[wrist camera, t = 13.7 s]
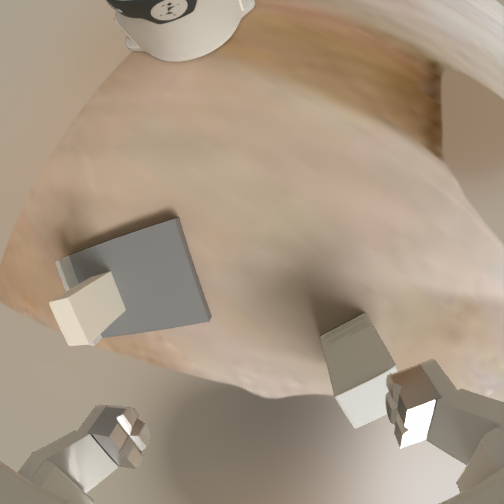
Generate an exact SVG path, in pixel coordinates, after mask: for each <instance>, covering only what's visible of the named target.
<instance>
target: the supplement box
mask: <svg viewBox="0 0 504 504" xmlns="http://www.w3.org/2000/svg"><path fill="white" fill-rule="evenodd" d="M320 340H321V344H322V348H323V351H324V355H325V360H326V363H327V367H328V371H329V375H330V379H331V384H332V388H333V392H334V397H335V399H336V401H337V402H338V404H339V405H340V407H341V408H342V410H343V412H344V413H345V415H346V417H347V418H348V419H349V421H350V423H351V424H352V426H353V427H354V428H358V427H360V426H362V425H364V424H367V423H369V422H371V421H373V420H376V419H378V418H380V417H382V416H384V415H386V414H387V411H386V403H385V400H386V394H387V393H388V391H389V390H388V388H387V386H386V378H387V375H389V374H393V373H396V372H398V369H397V366H396V364H395V362H394V360H393V359H392V357H391V355H390V353H389V352H388V350H387V348H386V346H385V345H384V343H383V341H382V340H381V338H380V336H379V335H378V333H377V331H376V330H375V328H374V326H373V325H372V323H371V321H370V320H369V318H368V316H367V315H366V313H363V314H361V315H359V316H358V317H356V318H354V319H352V320H350V321H348V322H346V323H344V324H343V325H341V326H339V327H337V328H335V329H333V330H331V331H329V332H327V333H325V334H323V335H321V336H320Z"/></svg>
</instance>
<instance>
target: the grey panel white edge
mask: <svg viewBox="0 0 504 504" xmlns="http://www.w3.org/2000/svg"><path fill="white" fill-rule="evenodd" d="M55 263H56V266H57V269H58V272H59V274H60V277H61V280H62V283H63V285H64V288H65V290H66V291H68V290H70V289H71V288H73V287H75V286H76V285H78V284H80V283H81V282H83V281H85V280H87V279H88V278H90V277H92V276H96V275H99V274H102V273H106V272H109V271H111V273H112V276H113V278H114V281H115V284H116V286H117V289H118V291H119V294H120V296H121V299H122V301H123V304H124V306H125V309H126V310H125V311H124V312H123V313H122V314H121V315H120V316H119V317H118V318H117V319H116V320H115V321H114V322H112V323H111V324H110V325H109V326H108V327H107V328H106V329H105V330H104V331H103V332H102V333H101V334H100V335H99V336H98V337H97V338H95V339H94V340H93V341H92V342H91V343H90V346H94V345H96V344H97V343H98V342H99V341H100V340H101V339H102V338H105V337H113V336H121V335H128V334H136V333H143V332H149V331H156V330H163V329H169V328H175V327H181V326H187V325H193V324H198V323H204V322H209V321H210V319H211V317H212V316H211V314H210V311H209V308H208V305H207V302H206V299H205V297H204V294H203V291H202V288H201V285H200V282H199V279H198V276H197V273H196V270H195V267H194V264H193V261H192V258H191V255H190V252H189V249H188V245H187V242H186V239H185V236H184V233H183V229H182V226H181V223H180V219H179V217H178V218H175V219H171V220H168V221H165V222H162V223H159V224H156V225H153V226H150V227H147V228H144V229H141V230H138V231H135V232H132V233H129V234H126V235H123V236H120V237H117V238H114V239H112V240H109V241H106V242H103V243H100V244H98V245H95V246H92V247H89V248H87V249H84V250H81V251H79V252H76V253H73V254H71V255H68V256H66V257H64V258H61V259H59V260H57V261H55Z"/></svg>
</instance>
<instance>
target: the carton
mask: <svg viewBox="0 0 504 504" xmlns="http://www.w3.org/2000/svg"><path fill="white" fill-rule="evenodd" d="M49 304H50V306H51V309H52V311H53V313H54V316H55V318H56V320H57V322H58V325H59V327H60V329H61V331H62V333H63V335H64V337H65V339H66V341H67V343H68V345H69V346H76V345H86V344H90V343H91V342H92V341H93V340H94V339H95V338H97V337H98V336H99V335H100V334H101V333H102V332H103V331H104V330H105V329H106V328H107V327H108V326H109V325H110V324H111V323H112V322H114V321H115V320H116V319H117V318H118V317H119V316H120V315H121V314H122V313H123V312H124V311H125V310H126V309H125V306H124V304H123V301H122V299H121V296H120V294H119V291H118V289H117V286H116V284H115V281H114V278H113V276H112V273H111V271H109V272H106V273H102V274H99V275H96V276H92V277H90V278H88V279H87V280H85V281H83V282H81V283H80V284H78V285H76V286H75V287H73V288H71V289H70V290H68V291H66V292H65V293H63V294H62V295H60V296H58V297H57V298H55V299H53V300H52V301H50V302H49Z"/></svg>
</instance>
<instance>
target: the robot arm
mask: <svg viewBox="0 0 504 504" xmlns="http://www.w3.org/2000/svg"><path fill="white" fill-rule="evenodd" d="M107 2H108V4H109V5H110V6H111V7H112V8H113V9H115V10H116V17H115V19H114V20H115V23H116V24H117V25H118V26H119V27H120V28H121V29H122V30H123V31H124V33H125V34H127V37H126V46H127V47H128V49H129V50H132V51H144V52H147V53H148V54H150V55H152V56H153V57H155V58H158V59H160V60H164V61H174V62H176V61H186V60H191V59H195V58H198V57H201V56H203V55H206V54H208V53H210V52H212V51H214V50H215V49H217V48H218V47H220V46H221V45H222V44H224V43H225V42H226V41H227V40H228V39H229V38H230V37H231V36H232V34H233V33H234V32H235V30H236V29H237V27H238V24H239V22H240V20H241V19H242V17H243V16H244V15H246V14H247V13H248V12H249V11H251V10H252V9H253V8H254V6H255V1H254V0H107ZM386 386H387V388H388V390H389V391H388V393H387V394H386V400H385V403H386V411H387V414H388V418H389V420H390V422H391V423H393V424H394V425H395V431H394V433H395V436H396V439H397V441H398V444H399V446H400V448H403V447H406V446H408V445H412V444H414V443H417V442H420V441H423V440H425V439H427V441H428V442H430V443H431V444H433V445H435V446H436V447H438V448H439V449H441V450H443V451H444V452H446V453H448V454H449V455H451V456H452V457H454V458H456V459H457V460H459V461H461V462H462V463H464V464H466V465H467V466H466V468H465V469H464V471H463V473H462V474H461V476H460V477H459V479H458V481H457V482H456V483H457V485H458V488H459V490H460V494H458V495H456V496H454V497H452V498H450V499H448V500H446V501H444V502H441V503H439V504H504V402H501V401H498V400H494V399H491V398H488V397H485V396H482V395H479V394H476V393H473V392H470V391H467V390H464V389H460V390H457V389H456V387H455V386H454V385H453V383H452V382H451V381H450V379H449V378H448V377H447V375H446V374H445V373H444V371H443V370H442V369H441V367H440V366H439V365H438V363H437V362H436V361H435V360H434V359H431V360H428V361H426V362H423V363H421V364H418V365H416V366H413V367H410V368H407V369H404V370H401V371H399V372H396V373H393V374H389V375H387V378H386ZM138 417H139V414H138V413H137V412H136V410H135V408H131V407H124V406H113V405H103V404H99V405H96V406H95V408H94V409H93V410H92V412H91V413H90V414H89V416H88V417H87V418H86V420H85V421H84V423H83V424H82V425H81V427H80V428H79V429H78V431H73V432H71V433H69V434H67V435H66V436H64V437H62V438H60V439H58V440H56V441H54V442H52V443H51V444H49V445H47V446H45V447H43V448H41V449H39V450H37V451H35V452H33V453H32V454H31V455H30V457H29V458H28V459H27V461H26V462H25V463H24V465H23V466H22V467H21V469H20V470H19V471H18V473H17V472H15V471H14V470H12V469H11V468H10V467H8V466H7V465H5V464H4V463H2V462H1V461H0V504H94V500H93V499H92V498H91V497H89V496H88V495H87V494H86V493H87V492H88V491H90V490H91V489H92V488H93V487H95V486H96V485H97V484H98V483H100V482H101V481H102V480H103V479H104V478H106V477H107V476H108V475H109V474H111V473H112V472H113V471H114V470H115V469H116V468H118V466H121V467H127V468H133V469H137V468H138V465H139V463H140V461H141V459H142V457H143V455H142V452H141V451H142V450H143V449H145V448H146V447H147V446H148V443H149V441H150V433H149V430H148V428H147V426H146V425H145V423H143V422H142V421H141V420H139V419H138Z"/></svg>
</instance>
